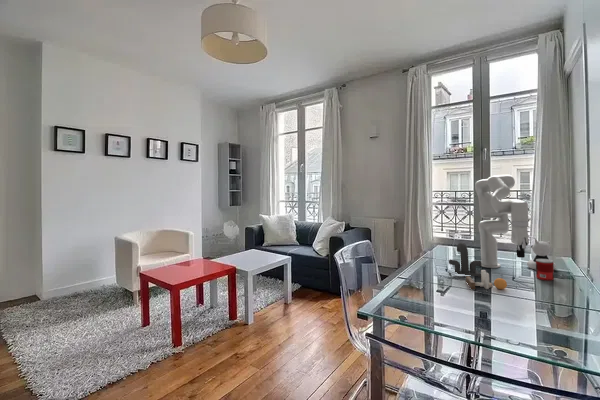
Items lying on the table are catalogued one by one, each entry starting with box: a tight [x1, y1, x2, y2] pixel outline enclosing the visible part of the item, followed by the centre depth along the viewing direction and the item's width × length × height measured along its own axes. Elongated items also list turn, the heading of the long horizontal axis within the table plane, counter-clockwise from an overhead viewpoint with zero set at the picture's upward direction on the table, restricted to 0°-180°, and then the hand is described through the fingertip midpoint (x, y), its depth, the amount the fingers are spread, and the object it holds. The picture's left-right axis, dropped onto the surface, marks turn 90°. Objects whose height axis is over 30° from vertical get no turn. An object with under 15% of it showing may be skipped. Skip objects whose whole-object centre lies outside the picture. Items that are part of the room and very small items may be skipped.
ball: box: [493, 277, 508, 290], centre depth 161 cm, size 6×6×6 cm
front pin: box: [474, 281, 494, 288], centre depth 166 cm, size 2×2×8 cm
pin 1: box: [480, 269, 487, 283], centre depth 168 cm, size 2×2×8 cm
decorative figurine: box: [526, 238, 557, 271], centre depth 190 cm, size 15×15×20 cm
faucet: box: [448, 241, 482, 278], centre depth 191 cm, size 18×16×20 cm
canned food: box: [535, 258, 555, 282], centre depth 172 cm, size 8×8×11 cm
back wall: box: [465, 276, 476, 290], centre depth 168 cm, size 12×2×4 cm, turn 163°
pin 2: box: [483, 272, 491, 290], centre depth 163 cm, size 2×2×8 cm
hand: (520, 257), depth 160 cm, fingers closed
